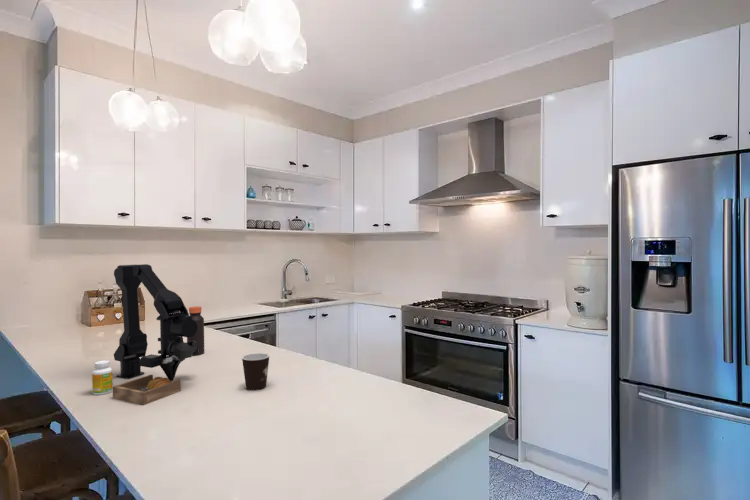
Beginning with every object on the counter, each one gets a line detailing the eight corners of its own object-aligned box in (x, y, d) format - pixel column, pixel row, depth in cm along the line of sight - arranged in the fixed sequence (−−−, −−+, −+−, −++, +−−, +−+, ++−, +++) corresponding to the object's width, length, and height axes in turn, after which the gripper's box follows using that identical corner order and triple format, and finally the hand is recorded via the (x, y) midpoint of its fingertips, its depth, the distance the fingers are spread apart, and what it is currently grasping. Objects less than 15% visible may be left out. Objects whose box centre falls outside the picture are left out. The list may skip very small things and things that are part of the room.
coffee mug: (255, 393, 132) (254, 361, 132) (236, 388, 136) (236, 357, 136) (281, 382, 142) (281, 353, 142) (263, 378, 146) (263, 350, 146)
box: (112, 398, 129) (112, 386, 129) (151, 384, 141) (150, 374, 141) (143, 405, 123) (143, 393, 123) (181, 390, 135) (180, 379, 135)
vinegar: (198, 351, 185) (198, 305, 184) (207, 353, 181) (206, 306, 180) (183, 354, 179) (183, 307, 179) (192, 356, 175) (192, 309, 175)
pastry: (179, 391, 135) (179, 379, 135) (158, 397, 130) (157, 385, 129) (165, 385, 141) (165, 374, 141) (144, 391, 135) (144, 379, 135)
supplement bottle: (102, 395, 131) (102, 364, 131) (88, 394, 132) (87, 364, 132) (116, 389, 136) (116, 360, 136) (102, 388, 137) (102, 359, 137)
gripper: (162, 342, 127) (163, 393, 128) (210, 330, 144) (210, 375, 145) (137, 339, 132) (138, 389, 132) (186, 328, 149) (187, 371, 149)
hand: (171, 381), depth 139 cm, fingers closed
